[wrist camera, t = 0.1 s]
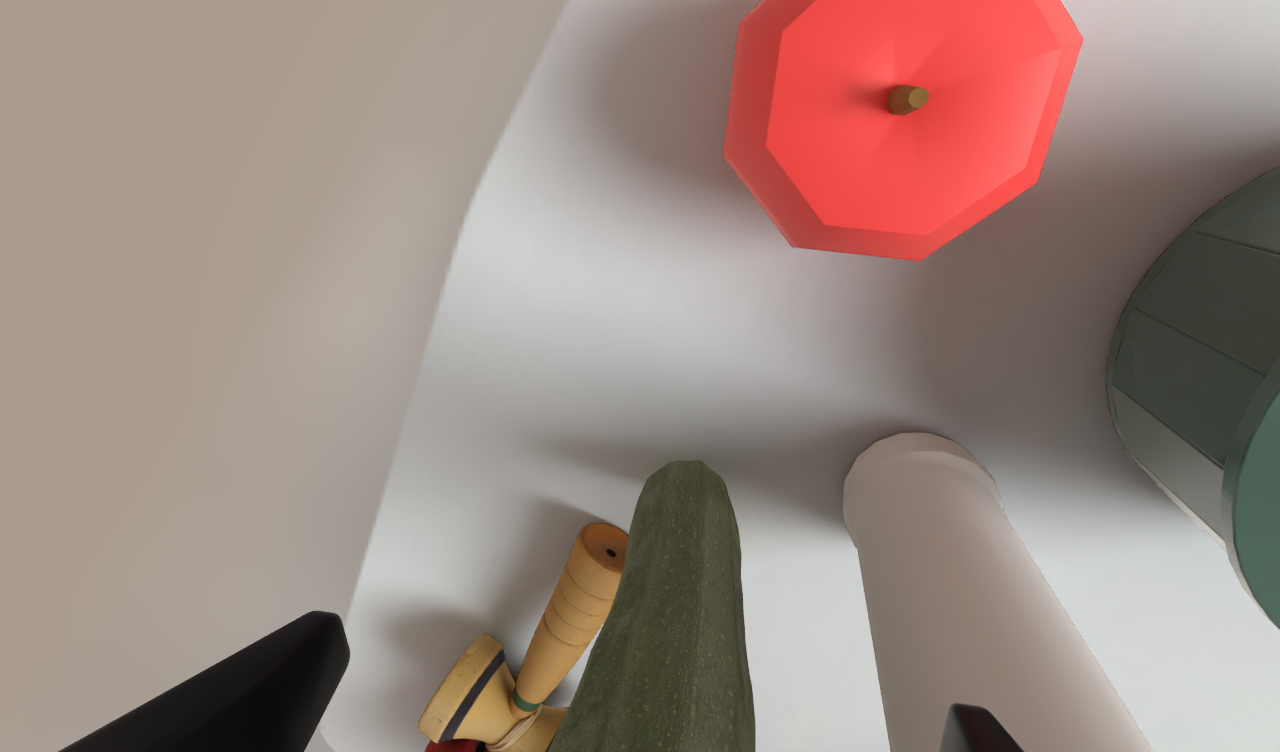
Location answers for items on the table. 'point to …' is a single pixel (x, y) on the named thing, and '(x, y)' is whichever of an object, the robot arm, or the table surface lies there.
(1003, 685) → the bottle
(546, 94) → the table surface
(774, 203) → the apple
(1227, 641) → the table surface
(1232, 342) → the pot
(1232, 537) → the lid
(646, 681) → the vegetable
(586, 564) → the kendama
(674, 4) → the table surface
